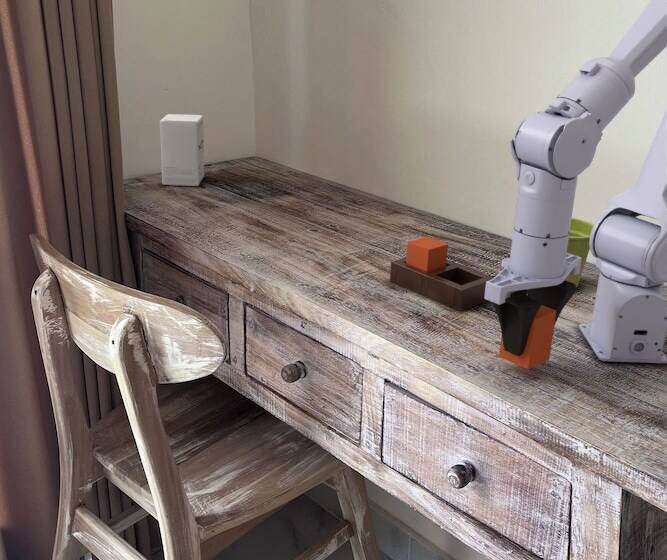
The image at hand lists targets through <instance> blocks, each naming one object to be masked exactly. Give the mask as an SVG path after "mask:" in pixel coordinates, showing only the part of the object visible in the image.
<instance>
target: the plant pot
mask: <svg viewBox="0 0 667 560" xmlns="http://www.w3.org/2000/svg"><path fill="white" fill-rule="evenodd" d="M594 225H595V224H594V223H592V222H589V221H587V220H583V219H580V218H576V217H572V218H571V225H570V232H569V239H568V246H567V253H569V254H572V255H575V256H578V257H581V258H582V260H581V266H580V273H579V274H576V275H571V274H569V275H568V276H567V277H566V279H565V280H566V281H569V282H571V283H574V284H575V285H576V289H577V288H578V286H579V284H580V282H581V281H580V280H581V278H582V274H583V271H584V268H585V265H586V262H587V258H588V256H589V253H590V246H589V240H590V234H591V231H592V228H593V226H594Z"/></svg>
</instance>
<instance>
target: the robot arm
mask: <svg viewBox="0 0 667 560" xmlns="http://www.w3.org/2000/svg"><path fill="white" fill-rule="evenodd" d="M666 48H667V0H650V1H649V3H648V4H647V5H646V7H645V8H644V10H642V12H641V13H640V14H639V16H637V19H635V21H634V23H633V24H632V25H631V26H630V28H629V29H628V30H627V31H626V33H625V34H624V35H623V36H622V38H621V39H620V40H619V42H618V43H617V44H616V46H615V47H614V48H613V50H612V51H611V52H610V54H609V55H608V56H607V57H605V56H599V57H593V58H591V59H590V60H588V61H587V60H586V61H585V62H584V63H583V64H582V65H581V66H580V67H579V72H578V73H577V74H576V75H575V76H574V77H573V78H572V80H571V81H570V82H569V83H568V84H567V85H566V86H565V87H564V88H563V90H562V91H561V92H560V93H559V94H558V95H557V96H556V97H555V98H554V99H553V101H552V102H551V103H550V104H549V105H548V106H547V107H546V109H544V111H537V113H536V112H534V113H532V114H530V115H529V116H527V117H526V118H524V119H523V120H522V121H521V123H520V124H519V125H518V127H517V128H516V130H515V133H514V137H513V138H511V139H510V143H509V145H510V146H509V147H510V154H511V156H512V158H513V160H514V162H515V164H516V165H515V170H516V171H515V177H516V180H517V181H518V185H517V186H518V187H517V195H516V204H515V213H514V221H513V229H512V239H511V246H510V254H509V257H507V258H504V259H502V260H501V264H500V266H501V267H502V268H503V269H502V270H501V271H499V273H497V274H496V275H495V278H493V279H492V280H490V281H487V282H486V288H485V297H484V299H486V300H489V301H488V302H491V303H492V305H493V307H494V310H495V312H496V316H497V318H498V321H499V327H500V332H501V335H502V338H503V345H504V350H505V351H507V352H510V353H512V354H514V355H517V356H520V355H522V354H523V352H524V350H525V347H526V344H527V340H528V335H529V331H530V327H531V325H532V322H533V320H534V317H535V315H536V314H537V312H538V310H539V309H540V307H541V306H542V305H543V306H546V307H549V308H551V309H554V310H556V317H555V324H554V327H555V325H556V323H557V322H558V319H559V316H560V315H561V313H562V311H563V310H564V308H565V307H566V305H567V303H568V302H569V301H570V299H572V297H573V296H574V295H575V294H576V291H577V288H576V285H575V284H574V283H571V282H569V281H566V280H565V279H566V277H567V276H568V275H569V274H571V275H576V274H579V273H580V266H581V260H582V258H581V257H578V256H575V255H572V254H569V253H567V246H568V239H569V232H570V225H571V218H573V210H574V203H575V199H576V191H577V184H578V183H577V182H578V179H579V178H578V177H579V175H581V174H582V173H583V172H584V171H585V170H587V169H588V168H589V167H590V166H591V164H592V162H593V160H594V158H595V155H596V151H597V148H598V145H599V143H600V142H601V141H602V137H603V135H604V134H603V131H605V129H606V128H607V126H608V125H609V124H610V123H611V122H612V121H613V120H614V118H615V117H616V116H617V115H618V114H619V113H620V112H621V111H622V110H623V108H625V106H626V105H627V104H628V103H629V102H630V101H631V99H632V98H633V97H634V95H635V93H636V80H635V78H636V77H637V76H638V75H639V74H640V73H641V72H642V71H643V70H644V69H646V67H647V66H648V65H650V64H651V62H653V61H654V60H655V58H657V57H658V56H659V55H660V54H661V53H662V52H663V51H664V50H665V49H666ZM640 216H644V217H647V218H650V219H653V220H656V221H658V223H659V224H656V223H653V222H651V221H647V220H644V219H641V218H639V217H640ZM593 225H594V226H593V228H592V231H591V234H590V240H589V246H590V250H589V252H590V253H591V255H592V256H593V257H594V258H595V259H596V260H595V267H596V268H598V269H599V274H598V281H597V287H596V293H595V299H594V305H593V311H592V316H591V323H579V325H578V329H579V330H580V332H581V333H582V334H583V336H584V338H585V340H586V341H587V342H588V344H589V345H590V347H591V349H592V350H593V352H594V353H595V356H596V357H597V358H598V359H599V361H602V362H616V363H642V364H644V363H645V364H667V355H666V354H665V352H663V351H664V346H665V341H666V337H667V336H666V335H667V301H666V300H665V297H664V286H665V284H666V283H667V107H666V108H665V111H664V114H663V115H662V118H661V121H660V124H659V125H658V128H657V130H656V133H655V135H654V138H653V139H652V142H651V145H650V147H649V149H648V152H647V153H646V157H645V159H644V161H643V164H642V167H641V169H640V171H639V173H638V176H637V178H636V180H635V183H634V186H632V187H630V188H629V189H627V190H624V191H622V192H620V193H618V194H616V195H614V196H612V197H611V198H610V199H609V201H608V203H607V206H606V208H605V210H604V212H602V214H601V216H599V218H598V219H597V220H596V222H595V223H594V224H593Z"/></svg>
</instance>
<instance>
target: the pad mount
mask: <svg viewBox="0 0 667 560" xmlns="http://www.w3.org/2000/svg"><path fill="white" fill-rule="evenodd" d="M495 277H496V276H495ZM495 277H494V276H492V275H489V274H486V273H483V272H481V271H478V270H476V269H473V268H470V267H468V266H464V265H463V264H459V263H457V262H455V261H452V260H449V259H447V261H446V267H443V268H440V269H437V270H434V271H431V272H426V271H424V270H421V269H418V268H416V267H413V266H411V265H408V264H406V257H401V258H399V259H394V260H391V261H390V273H389V282H391V283H393V284H395V285H398V286H399V287H400V286H401V287H402V288H405V289H406V290H409V291H412V292H414V293H416V294H419V295H422V296H424V297H426V298H428V299H430V300H433V301H435V302H436V303H437V302H438V303H440V304H442V305H445V306H447V307H449V308H452V309H454V310H457V311H459V312H462V311H465V310H467V309H470V308H472V307H476V306H478V305H480V304H484V303H486V302H490V301H489V300H486V299H484V297H485V288H486V282H487V281H490V280H492V279H493V278H495Z"/></svg>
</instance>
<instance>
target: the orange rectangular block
mask: <svg viewBox="0 0 667 560" xmlns="http://www.w3.org/2000/svg"><path fill="white" fill-rule="evenodd" d="M555 317H556V310H554V309H551V308H549V307H546V306H543V305H542V306H541V307H540V309H539V310H538V312H537V314H536V315H535V317H534V320H533V322H532V325H531V327H530V331H529V335H528V340H527V344H526V347H525V350H524V352H523V354H522V355H520V356H517V355H514V354H512V353H510V352H507V351H505V350H504V345H503V338H502V334H501V336H500V344H499V353H498V357H499V358H502V359H503V360H506V361H508V362H510V363H513V364H515V365H517V366H519V367H521V368H524V369H526V370H530V369H532V368H535V367H537V366H539V365H540V364H542V363H546V361H549V360H550V357H551V351H552V344H553V338H554V330H555V326H554V324H555V325H556V323H555Z"/></svg>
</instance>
